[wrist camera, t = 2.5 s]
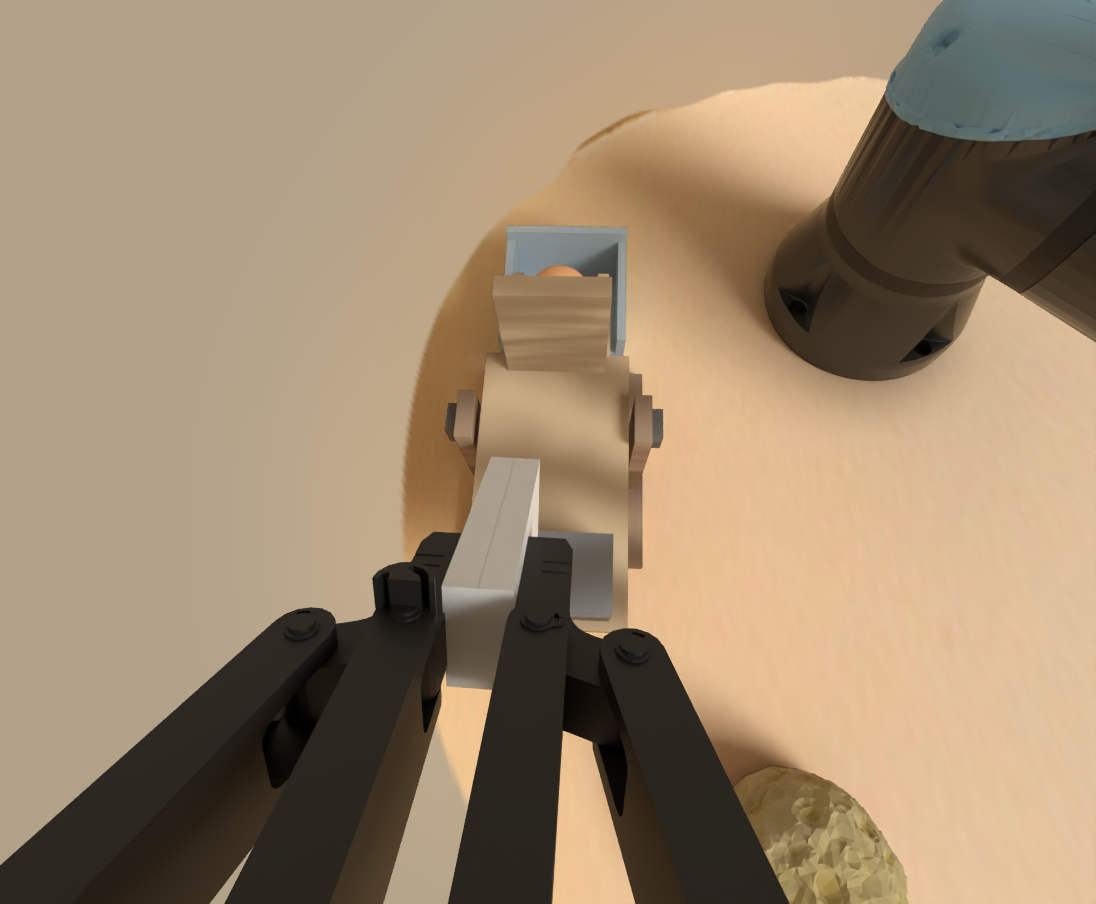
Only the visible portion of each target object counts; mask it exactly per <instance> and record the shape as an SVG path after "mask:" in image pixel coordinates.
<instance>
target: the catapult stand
mask: <svg viewBox="0 0 1096 904" xmlns="http://www.w3.org/2000/svg"><path fill="white" fill-rule="evenodd" d="M484 375H485V372H484ZM483 385H484V382H483ZM482 395H483V392H482ZM481 405H482V402H481ZM480 415H481V406H480V403H479V400H478V397H477V394H476V392H475V391H470V390H459V392H458V401H457V403H448V409H447V417H446V426H445V431H446V433H447V435H448V437H449V439H450V441H456V442H457V444H458V446H459V448H460V450H461V452H462V454H463V456H464V458H465V459H466V461H467V463H468V465H469V467H470V469H471V471H472V473H473V475H474V476H475V466H476V455H477V445H478V435H479V425H480ZM662 439H663V409H652V396H650V395H642V374H629V463H628V568H635V569H641V568H642V473H643V470H644V467H645V464H646V461H647V458H648V455H649V452H650V449H651V448H660V445H661V442H662ZM473 486H474V483H473ZM472 496H473V493H472ZM471 506H472V503H471Z"/></svg>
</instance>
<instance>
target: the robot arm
mask: <svg viewBox="0 0 1096 904" xmlns="http://www.w3.org/2000/svg"><path fill="white" fill-rule="evenodd" d="M988 275H990V276H991V277H993V278H995V279H996V280H998V281H1000V282H1002V283H1003V284H1005V285H1007V286H1008V287H1010V288H1011V289H1013V290H1015V291H1016V292H1018V293H1019V294H1021V295H1022V296H1024V297H1025V298H1027V299H1028V300H1030V301H1032V302H1033V303H1035V304H1036V305H1038V306H1039V307H1041V308H1043V309H1044V310H1046V311H1047V312H1049V313H1050V314H1052V315H1054V316H1055V317H1057V318H1058V319H1060V320H1061V321H1063V322H1065V323H1066V324H1068V325H1069V326H1071V327H1072V328H1074V329H1076V330H1077V331H1079V332H1080V333H1082V334H1083V335H1085V336H1087V337H1088V338H1090V339H1091V340H1093V341H1094V342H1096V0H943V1H942V2H941V3H940V4H939V6H938V7H937V8H936V9H935V10H934V11H933V13H932V14H931V16H930V17H929V18H928V20H927V21H926V23H925V24H924V26H923V28H922V29H921V31H920V33H919V34H918V36H917V38H916V39H915V41H914V43H913V44H912V46H911V48H910V49H909V51H908V53H907V54H906V56H905V57H904V58H903V59H902V60H901V61H900V62H899V64H898V65H897V66H896V67H895V69H894V70H893V72H892V74H891V76H890V80H889V81H888V83H887V86H886V91H885V93H884V95H883V97H882V99H881V101H880V103H879V105H878V107H877V109H876V111H875V112H874V114H873V116H872V118H871V120H870V122H869V124H868V126H867V128H866V130H865V132H864V133H863V135H862V137H861V139H860V141H859V143H858V145H857V147H856V149H855V151H854V152H853V154H852V156H851V158H850V160H849V162H848V164H847V166H846V168H845V170H844V172H843V173H842V175H841V177H840V179H839V182H838V183H837V185H836V187H835V189H834V191H833V193H832V195H831V196H830V197H829V198H827V199H826V200H825V201H824V202H823V203H822V204H821V205H819V206H818V207H817V208H816V209H815V210H814V211H813V212H811V213H810V214H809V215H808V216H807V217H806V218H805V219H803V220H802V221H801V222H800V223H799V224H798V225H796V226H795V227H794V228H793V229H792V230H791V231H790V232H789V233H788V235H787V236H786V237H785V238H784V240H783V241H782V243H781V244H780V246H779V247H778V249H777V251H776V253H775V255H774V258H773V260H772V262H771V264H770V266H769V268H768V271H767V274H766V279H765V286H764V296H765V303H766V308H767V311H768V314H769V317H770V319H771V321H772V323H773V325H774V327H775V329H776V330H777V332H778V333H779V335H780V336H781V337H782V339H783V340H784V341H785V342H786V343H787V344H788V345H789V346H790V347H791V348H792V349H793V350H794V351H795V352H796V353H797V354H799V355H800V356H801V357H802V358H804V359H805V360H807V361H808V362H810V363H812V364H813V365H815V366H817V367H819V368H821V369H823V370H825V371H828V372H830V373H833V374H836V375H839V376H842V377H846V378H851V379H857V380H865V381H882V380H890V379H896V378H900V377H904V376H907V375H910V374H912V373H915V372H917V371H919V370H921V369H923V368H924V367H926V366H927V365H929V364H930V363H931V362H933V361H934V360H935V359H936V358H937V357H938V356H939V355H941V354H942V353H943V352H944V351H945V350H946V349H947V348H949V347H950V346H951V345H952V344H953V342H954V341H955V340H956V339H957V338H958V336H959V335H960V334H961V332H962V330H963V329H964V327H965V325H966V323H967V321H968V319H969V316H970V314H971V311H972V309H973V307H974V304H975V302H976V300H977V297H978V295H979V293H980V290H981V288H982V286H983V283H984V281H985V279H986V277H987V276H988ZM539 475H540V459H524V458H506V457H491V458H490V461H489V464H488V466H487V469H486V472H485V474H484V477H483V479H482V482H481V485H480V487H479V490H478V492H477V495H476V498H475V500H474V503H473V505H472V508H471V511H470V513H469V516H468V518H467V521H466V524H465V526H464V529H463V531H462V533H446V532H433V533H432V534H430V535H429V536H428V537H427V538H425V539H424V540H423V541H421V543H420V545H419V547H418V549H417V551H416V553H415V556H414V558H413V560H412V562H400V563H396V564H392V565H389V566H387V567H385V568H383V569H381V570H379V571H378V572H377V573H376V574H375V575H374V576H373V578H372V579H373V589H374V598H375V608H376V610H375V612H374V614H373V616H372V617H369V618H366V619H362V620H358V621H352V622H346V623H339V624H336V621H335V618H334V616H333V615H332V614H331V613H330V612H328V611H326V610H324V609H322V608H312V607H310V608H303V609H297V610H295V611H292V612H289V613H287V614H285V615H283V616H282V617H280V618H279V619H277V620H276V621H275V622H274V623H272V624H271V625H270V626H269V627H268V628H267V629H266V630H264V631H263V632H262V633H261V634H260V635H259V636H258V637H256V638H255V639H254V640H253V641H252V642H251V643H250V644H249V645H248V646H246V647H245V648H244V649H243V650H242V651H241V652H240V653H239V654H237V655H236V656H235V657H234V658H233V659H232V660H231V661H229V662H228V663H227V664H226V665H225V666H224V667H223V668H222V669H221V670H219V671H218V672H217V673H216V674H215V675H214V676H213V677H211V678H210V679H209V680H208V681H207V682H206V683H205V684H204V685H202V686H201V687H200V688H199V689H198V690H197V691H196V692H195V693H194V694H192V695H191V696H190V697H189V698H188V699H187V700H186V701H185V702H183V703H182V704H181V705H180V706H179V707H178V708H177V709H176V710H174V711H173V712H172V713H171V714H170V715H169V716H168V717H167V718H165V719H164V720H163V721H162V722H161V723H160V724H159V725H158V726H157V727H155V728H154V729H153V730H152V731H151V732H150V733H149V734H147V735H146V736H145V737H144V738H143V739H142V740H141V741H140V742H138V744H136V745H135V746H134V747H133V748H132V749H131V750H129V751H128V752H127V753H126V754H125V755H124V756H123V757H122V758H120V759H119V760H118V761H117V762H116V763H115V764H114V765H113V766H111V767H110V768H109V769H108V770H107V771H106V772H105V773H104V774H102V775H101V776H100V777H99V778H98V779H97V780H96V781H95V782H94V783H92V784H91V785H90V786H89V787H88V788H87V789H86V790H84V791H83V792H82V793H81V794H80V795H79V796H78V797H77V798H75V799H74V800H73V801H72V802H71V803H70V804H69V805H68V806H66V807H65V808H64V809H63V810H62V811H61V812H60V813H59V814H57V815H56V816H55V817H54V818H53V819H52V820H51V821H50V822H49V823H48V824H46V825H45V826H44V827H43V828H42V829H41V830H39V831H38V832H37V833H36V834H35V835H34V836H33V837H32V838H31V839H29V840H28V841H27V842H26V843H25V844H24V845H23V846H21V847H20V848H19V849H18V850H17V851H16V852H15V853H14V854H12V856H10V857H9V858H8V859H7V860H6V861H5V862H3V863H2V865H0V904H210V902H211V901H212V900H213V898H214V897H215V896H216V894H217V893H218V892H219V890H220V889H221V888H222V887H223V885H224V884H225V883H226V881H227V880H228V879H229V877H230V876H231V875H232V874H233V872H234V871H235V870H236V868H237V867H238V866H239V864H240V863H241V862H242V861H243V859H244V858H245V857H246V855H247V854H248V852H249V851H250V850H251V849H252V848H253V849H252V851H251V853H250V855H249V857H248V859H247V861H246V863H245V865H244V866H243V868H242V871H241V872H240V874H239V876H238V878H237V880H236V882H235V884H234V886H233V888H232V890H231V892H230V894H229V896H228V898H227V900H226V901H225V904H383V902H384V899H385V895H386V892H387V889H388V885H389V882H390V878H391V875H392V871H393V868H394V865H395V861H396V858H397V854H398V851H399V848H400V844H401V841H402V837H403V834H404V830H405V827H406V823H407V820H408V817H409V813H410V810H411V806H412V803H413V800H414V796H415V793H416V789H417V786H418V783H419V779H420V776H421V772H422V769H423V765H424V762H425V759H426V755H427V752H428V748H429V745H430V741H431V738H432V735H433V731H434V728H435V724H436V721H437V718H438V714H439V711H440V707H441V697H442V696H441V684H442V680H443V677H444V674H445V671H446V685H447V686H451V687H464V688H477V689H490V690H492V693H491V698H490V703H489V708H488V713H487V718H486V722H485V727H484V732H483V737H482V742H481V747H480V751H479V756H478V761H477V766H476V771H475V775H474V780H473V785H472V790H471V795H470V800H469V804H468V809H467V814H466V819H465V824H464V829H463V834H462V839H461V843H460V848H459V853H458V858H457V863H456V867H455V872H454V877H453V882H452V887H451V891H450V896H449V901H448V904H552V898H553V882H554V865H555V849H556V833H557V817H558V800H559V784H560V768H561V751H562V738H563V731H566V732H569V733H571V734H574V735H576V736H579V737H581V738H584V739H587V740H589V741H592V742H593V751H594V755H595V758H596V762H597V766H598V769H599V773H600V777H601V780H602V784H603V788H604V791H605V795H606V798H607V802H608V806H609V809H610V813H611V817H612V820H613V824H614V827H615V831H616V835H617V838H618V842H619V846H620V849H621V853H622V856H623V860H624V864H625V867H626V871H627V875H628V878H629V882H630V886H631V889H632V893H633V896H634V900H635V904H790V903H789V901H788V899H787V897H786V895H785V893H784V891H783V889H782V887H781V885H780V883H779V881H778V878H777V876H776V874H775V872H774V870H773V868H772V866H771V864H770V862H769V860H768V858H767V856H766V854H765V852H764V850H763V848H762V846H761V844H760V842H759V840H758V838H757V836H756V834H755V832H754V829H753V827H752V825H751V823H750V821H749V819H748V817H747V815H746V813H745V811H744V809H743V807H742V805H741V803H740V801H739V799H738V797H737V795H736V793H735V791H734V789H733V787H732V785H731V782H730V780H729V778H728V776H727V774H726V772H725V770H724V768H723V766H722V764H721V762H720V760H719V758H718V756H717V754H716V752H715V750H714V748H713V746H712V744H711V742H710V740H709V738H708V736H707V733H706V731H705V729H704V727H703V725H702V723H701V721H700V719H699V717H698V715H697V713H696V711H695V709H694V707H693V705H692V703H691V701H690V699H689V697H688V695H687V693H686V691H685V689H684V686H683V684H682V682H681V680H680V678H679V676H678V674H677V672H676V670H675V668H674V666H673V664H672V662H671V660H670V658H669V656H668V654H667V652H666V650H665V648H664V646H663V645H662V644H661V642H660V641H659V640H658V639H657V638H656V637H654V636H653V635H651V634H649V633H648V632H645V631H641V630H638V629H630V628H623V629H618V630H614V631H612V632H610V633H609V634H607V635H606V636H604V638H603V639H601V638H598V637H595V636H592V635H590V634H588V633H585V632H584V631H582V630H581V629H579V628H578V627H577V626H576V625H575V624H574V622H573V621H572V619H571V617H570V597H571V579H572V561H573V549H572V548H571V546H570V544H569V543H568V541H567V540H566V539H562V538H546V537H538V512H539ZM253 846H254V847H253Z"/></svg>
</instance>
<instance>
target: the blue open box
mask: <svg viewBox="0 0 1096 904" xmlns="http://www.w3.org/2000/svg"><path fill="white" fill-rule="evenodd" d="M506 235H507V250H506V261H505V272H504V275H513V272H522V273H524V276H535V275H536V274H537V273H538V272H540V271H541V270H543V269H545V268H547V267H550V266H554V265H564V266H568V267H571V268H573V269H575V270H576V271H578V272H579V273H580V274H581V275H582V276H583V277H598V274H609V277H612V301H611V328H610V356H623V353H624V346H625V326H626V240H627V227H584V226H506ZM499 342H500V346H501V350H502V353H505V352H504V347H503V343H502V338H501V334H500V329H499Z"/></svg>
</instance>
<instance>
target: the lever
mask: <svg viewBox="0 0 1096 904" xmlns="http://www.w3.org/2000/svg"><path fill="white" fill-rule="evenodd" d="M492 298H493V302H494V307H495V311H496V316H497V320H498V325H499V329H500V334H501V338H502V343H503V347H504V352H505V353H487V354H486V364H485V375H484V385H483V395H482V405H481V415H480V425H479V435H478V445H477V455H476V466H475V476H474V486H473V496H472V505H473V503H474V500H475V498H476V495H477V492H478V490H479V487H480V485H481V482H482V479H483V477H484V474H485V472H486V469H487V466H488V464H489V461H490V458H491V457H506V458H524V459H540V475H539V512H538V537H546V538H562V539H566V540H567V541H568V543H569V544H570V546H571V548H572V549H573V561H572V579H571V597H570V617H571V619H572V621H573V622H574V624H575V625H576V626H577V627H578V628H579V629H581V630H582V631H584V632H602V633H610V632H612V631H614V630H618V629H623V628H627V615H628V463H629V356H610V328H611V301H612V277H609V274H598V277H583V276H524V273H522V272H513V275H494V279H493V289H492ZM471 508H472V506H471Z"/></svg>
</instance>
